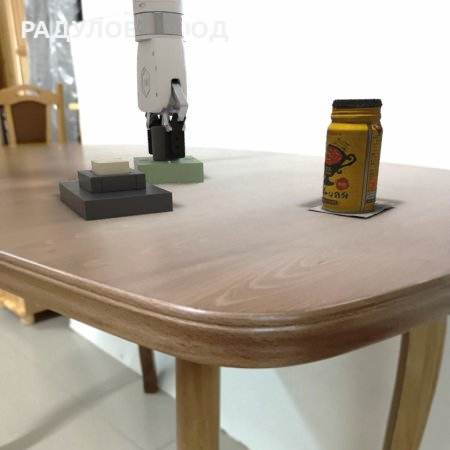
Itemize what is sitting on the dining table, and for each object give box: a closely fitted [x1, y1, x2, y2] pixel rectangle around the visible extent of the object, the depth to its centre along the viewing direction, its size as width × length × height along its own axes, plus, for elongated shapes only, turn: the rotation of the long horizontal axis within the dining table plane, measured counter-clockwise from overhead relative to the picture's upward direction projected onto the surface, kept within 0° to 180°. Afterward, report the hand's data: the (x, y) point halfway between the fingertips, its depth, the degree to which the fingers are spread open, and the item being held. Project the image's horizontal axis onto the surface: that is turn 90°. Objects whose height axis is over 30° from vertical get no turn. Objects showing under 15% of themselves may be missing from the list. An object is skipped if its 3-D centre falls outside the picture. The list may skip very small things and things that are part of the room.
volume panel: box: [132, 154, 205, 185], centre depth 79 cm, size 11×10×3 cm
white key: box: [90, 157, 130, 176], centre depth 58 cm, size 4×4×2 cm
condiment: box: [309, 98, 395, 218], centre depth 55 cm, size 7×8×12 cm
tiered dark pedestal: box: [58, 167, 174, 222], centre depth 59 cm, size 14×10×4 cm
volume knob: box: [151, 124, 180, 161], centre depth 78 cm, size 4×4×5 cm
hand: (166, 155), depth 79 cm, fingers open, 6 cm apart
